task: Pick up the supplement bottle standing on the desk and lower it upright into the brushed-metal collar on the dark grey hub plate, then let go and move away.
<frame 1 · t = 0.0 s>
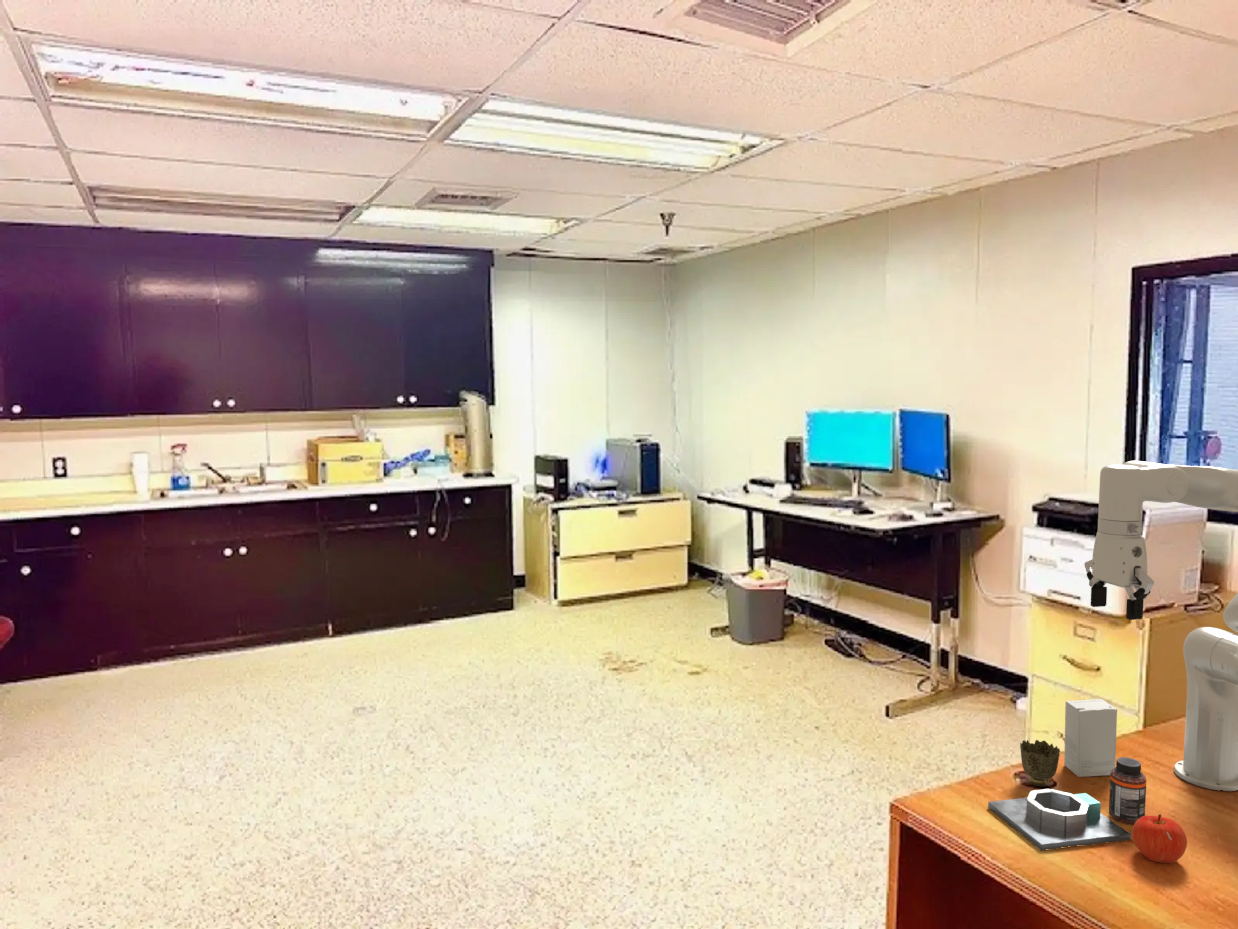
hand: (1115, 612, 174), 37 cm above the table, tool pointing down, fingers open, 9 cm apart
apple: (1158, 859, 153), on the table
skincare box: (1088, 772, 186), on the table
supplement bottle: (1126, 819, 166), on the table
cup: (1038, 784, 180), on the table
hub plate: (1056, 823, 165), on the table
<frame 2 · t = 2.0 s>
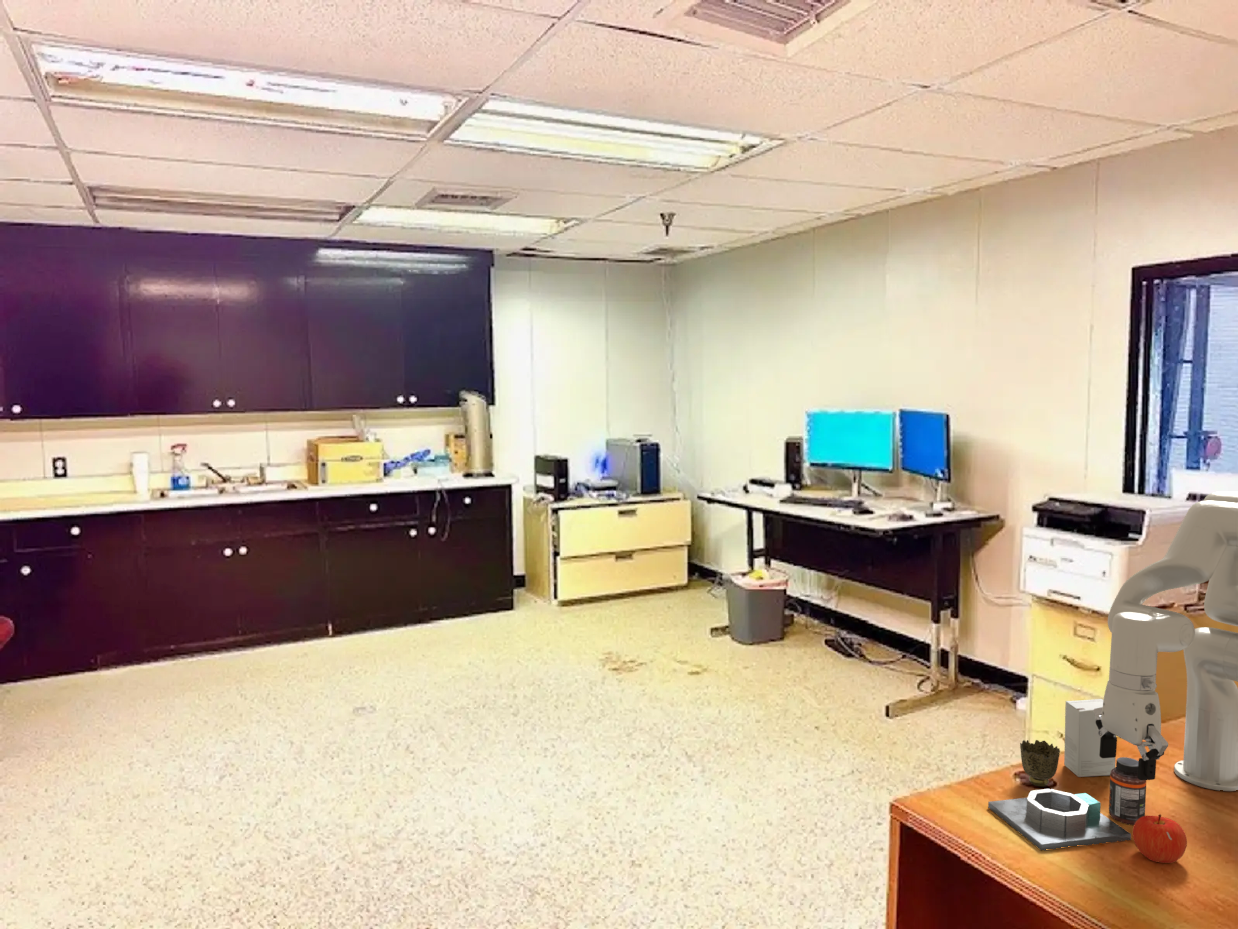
hand: (1126, 768, 165), 10 cm above the table, tool pointing down, fingers open, 9 cm apart
nothing on the table moved.
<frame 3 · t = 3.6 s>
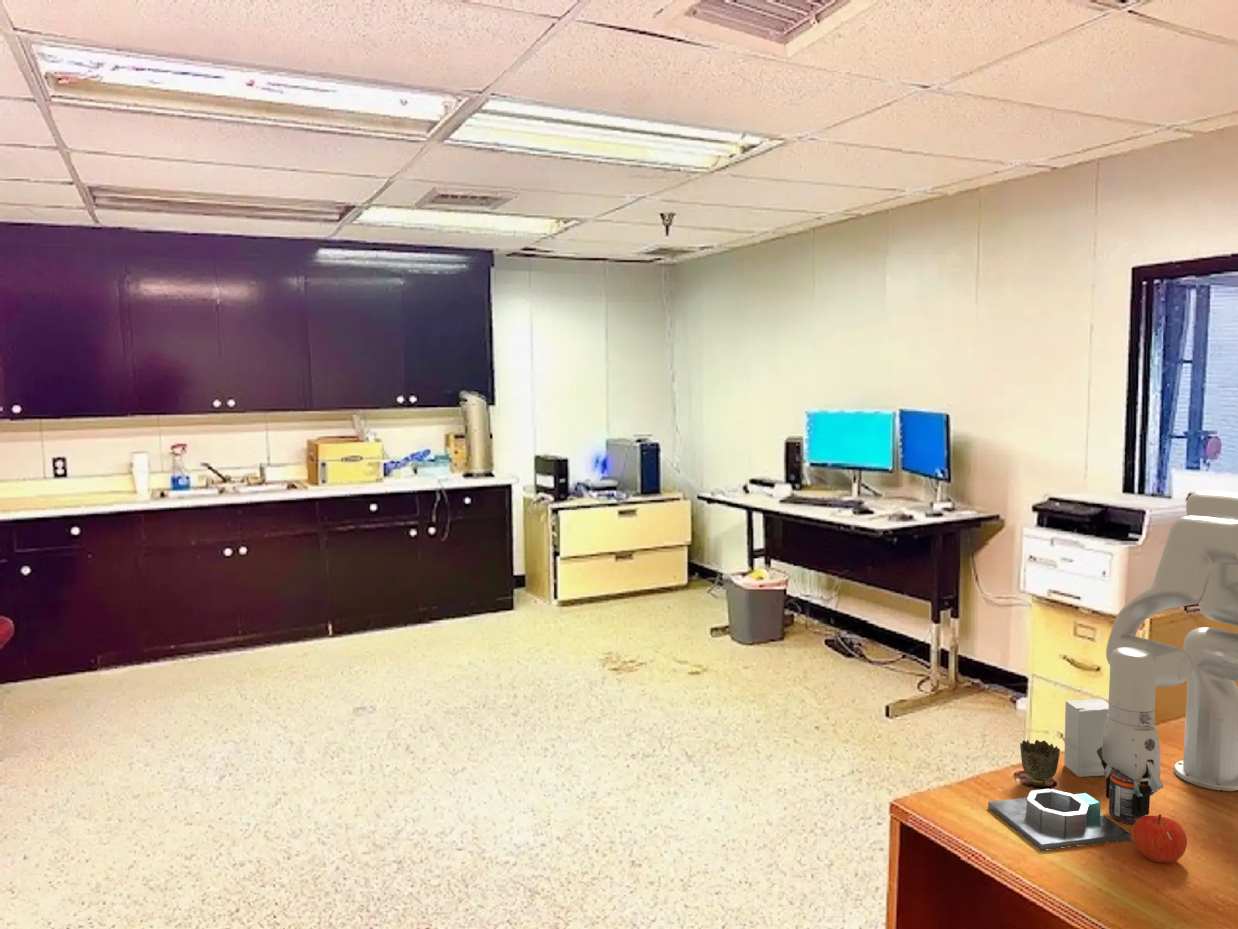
hand: (1126, 805, 166), 3 cm above the table, tool pointing down, fingers closed on supplement bottle, 6 cm apart
supplement bottle: (1126, 819, 166), on the table, touching gripper
everything else where it was.
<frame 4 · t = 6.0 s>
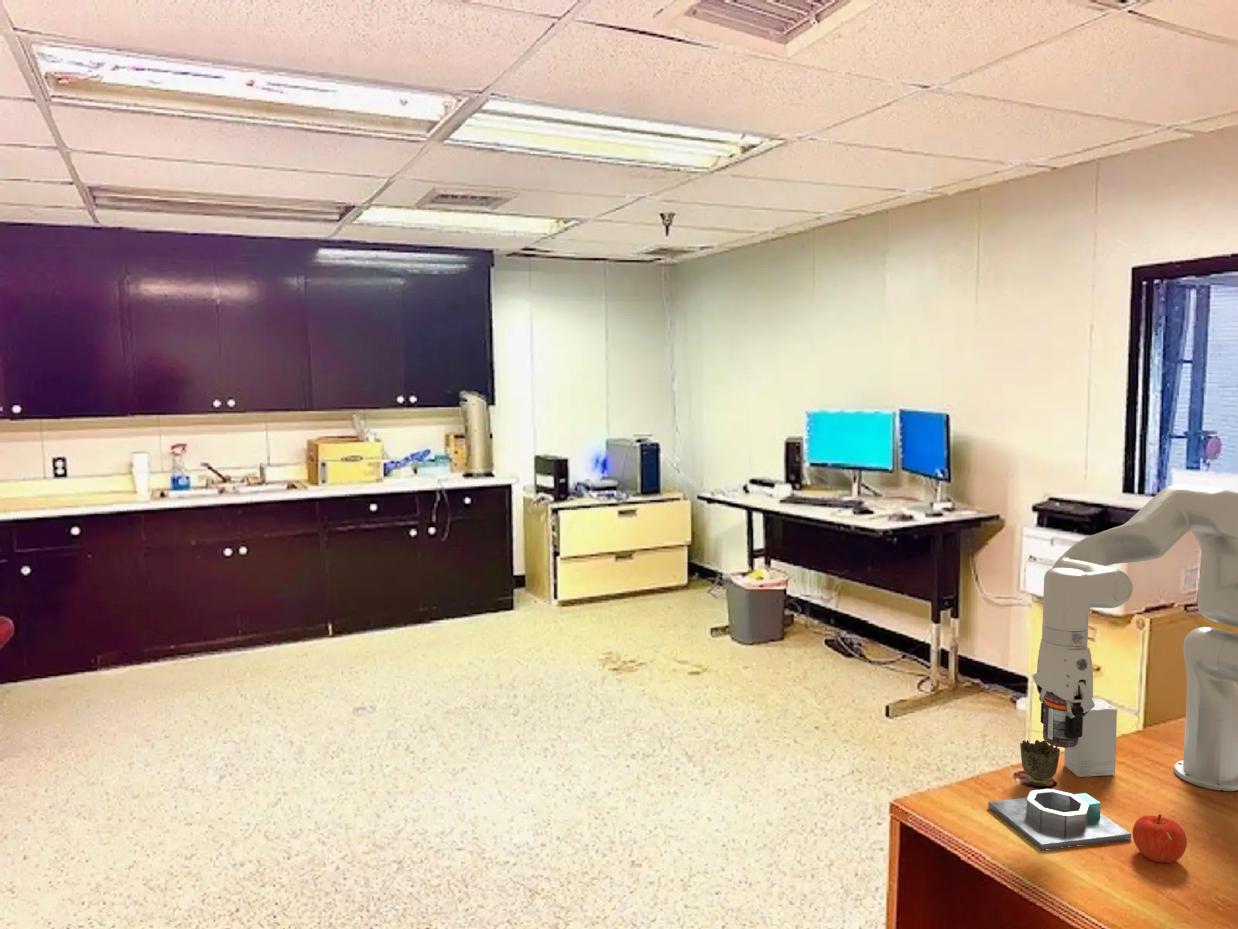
hand: (1060, 729, 163), 18 cm above the table, tool pointing down, fingers closed on supplement bottle, 6 cm apart
supplement bottle: (1060, 743, 163), point 16 cm above the table, touching gripper
everything else where it was.
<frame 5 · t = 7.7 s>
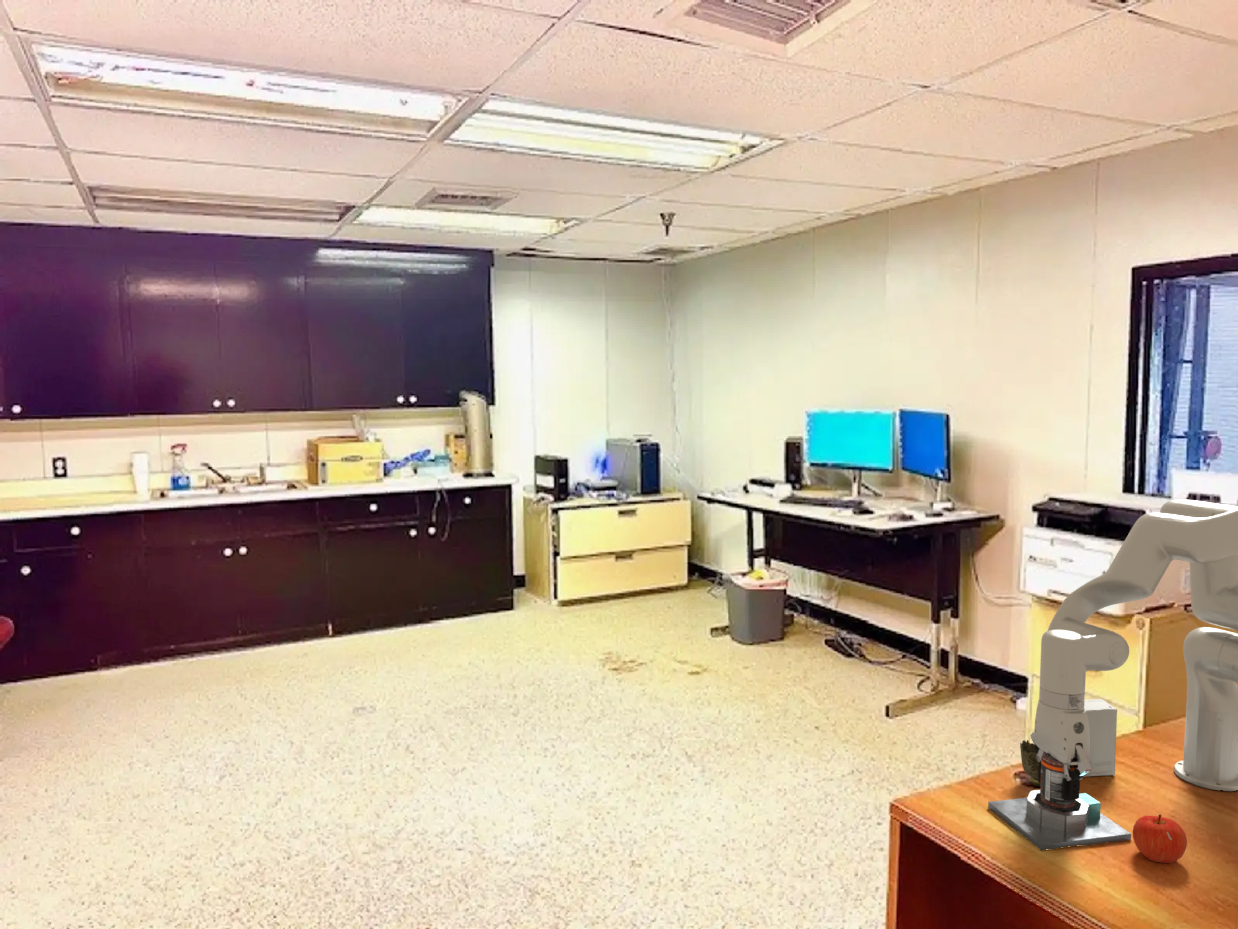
hand: (1058, 789, 164), 7 cm above the table, tool pointing down, fingers closed on supplement bottle, 6 cm apart
supplement bottle: (1057, 803, 164), point 4 cm above the table, touching gripper
everything else where it was.
when the fingers open (6 cm above the table, at t = 8.7 s): supplement bottle drops 2 cm, resting on hub plate.
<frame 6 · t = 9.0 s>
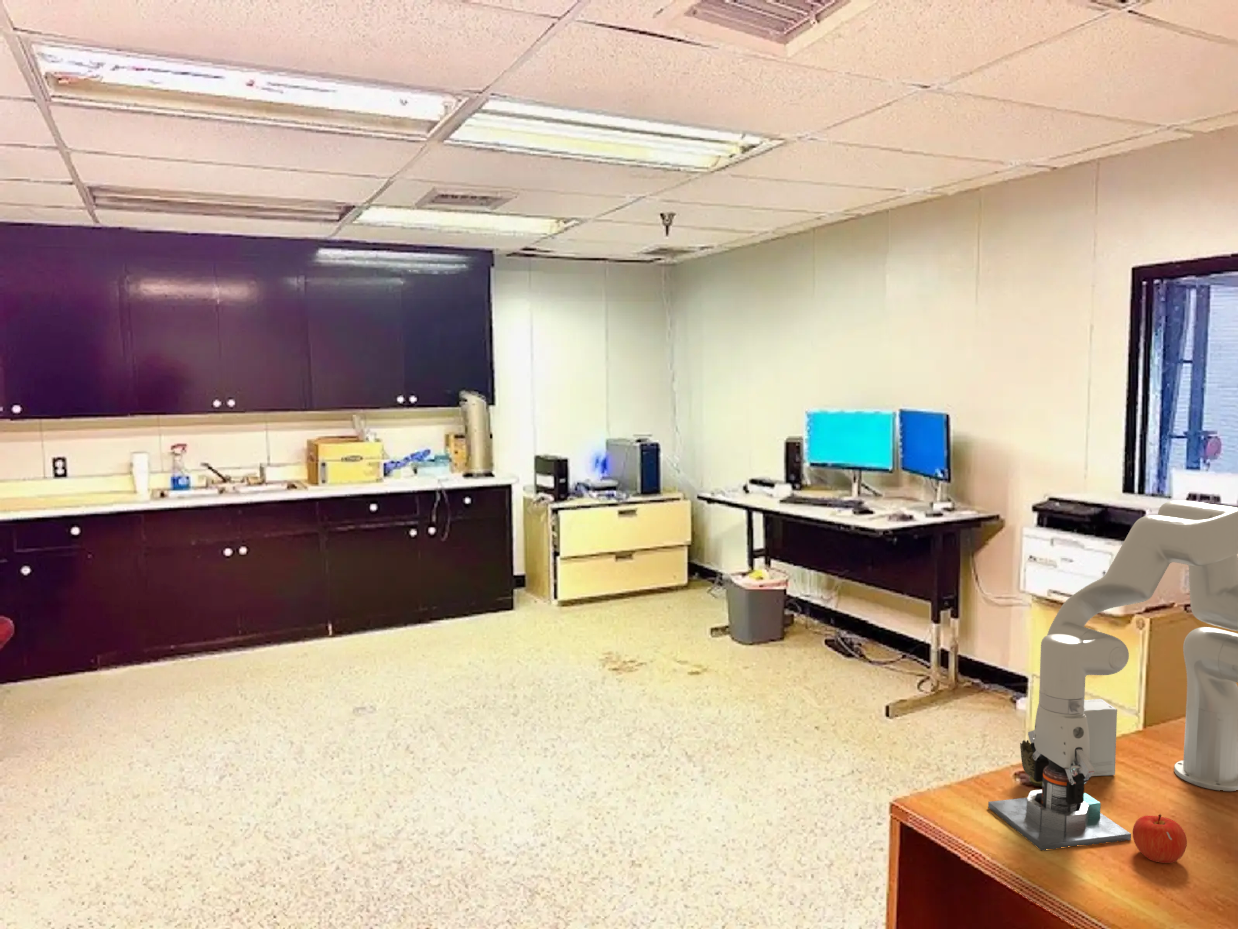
hand: (1058, 791, 164), 6 cm above the table, tool pointing down, fingers open, 8 cm apart
supplement bottle: (1058, 817, 164), point 1 cm above the table, touching hub plate
everything else where it was.
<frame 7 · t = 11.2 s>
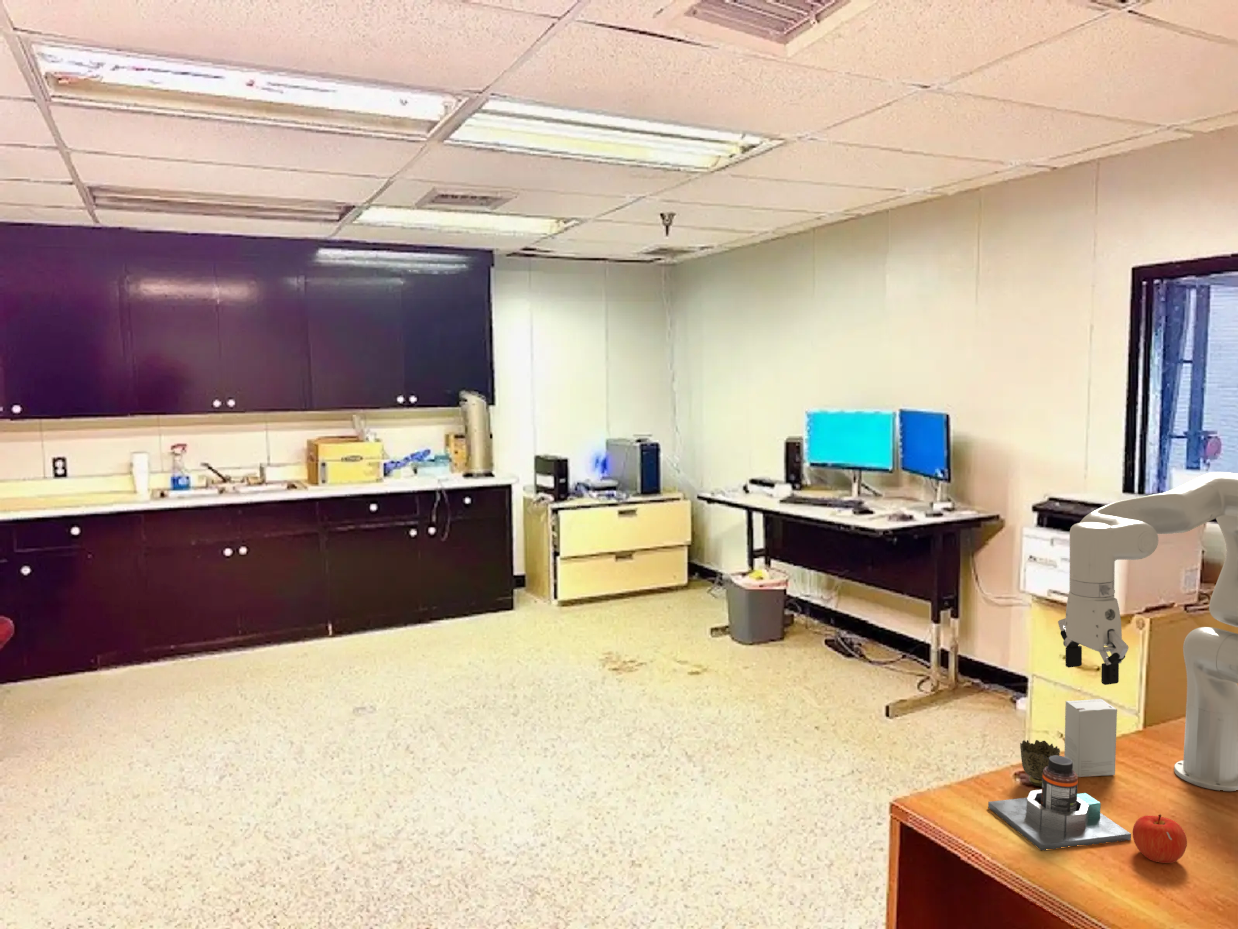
hand: (1091, 674, 168), 27 cm above the table, tool pointing down, fingers open, 9 cm apart
nothing on the table moved.
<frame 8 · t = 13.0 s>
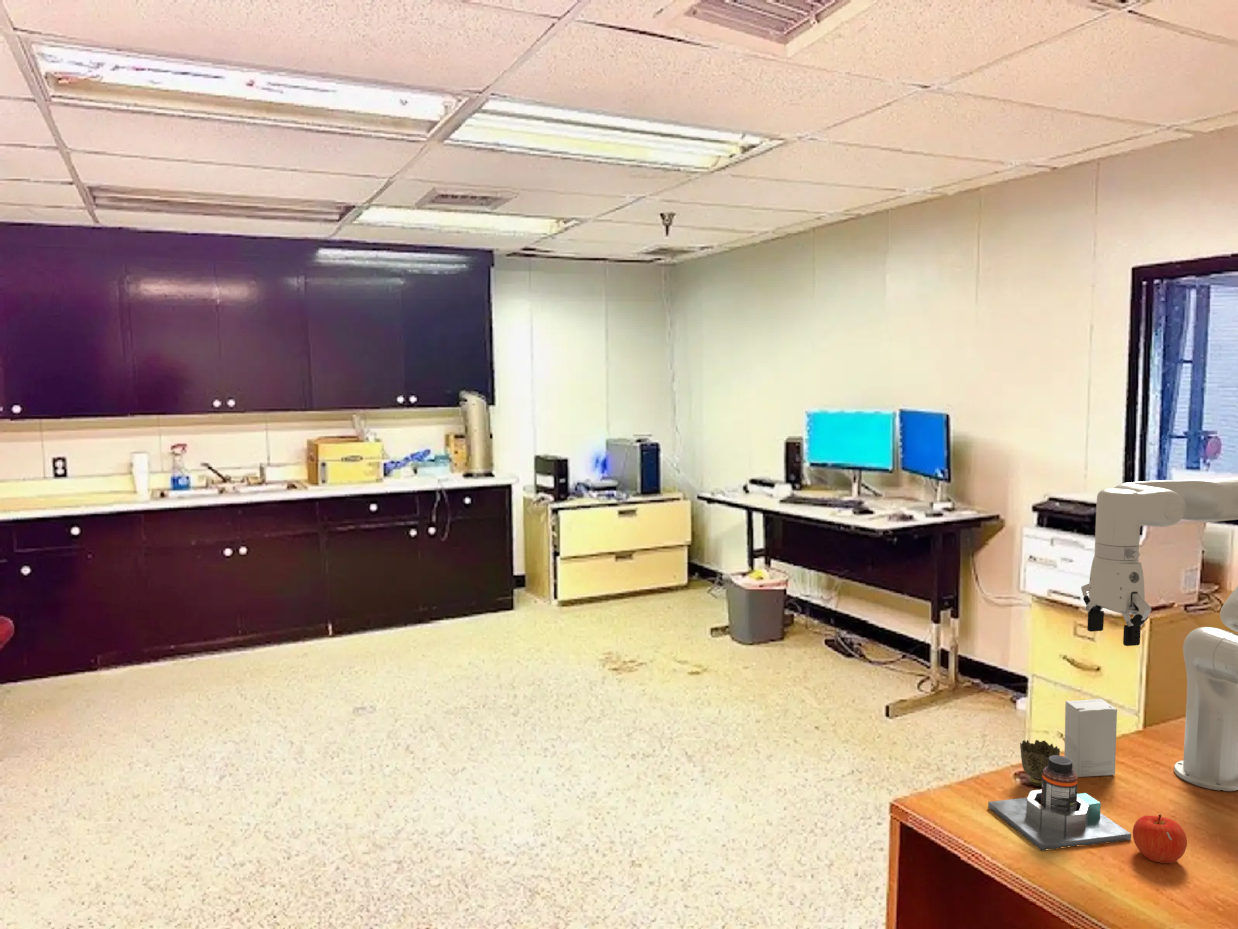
hand: (1112, 637, 172), 32 cm above the table, tool pointing down, fingers open, 9 cm apart
nothing on the table moved.
at the end: supplement bottle 0.2 cm off-centre on the hub plate, point 1.0 cm above the hub plate's base; supplement bottle tilted 0°; the gripper is holding nothing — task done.
